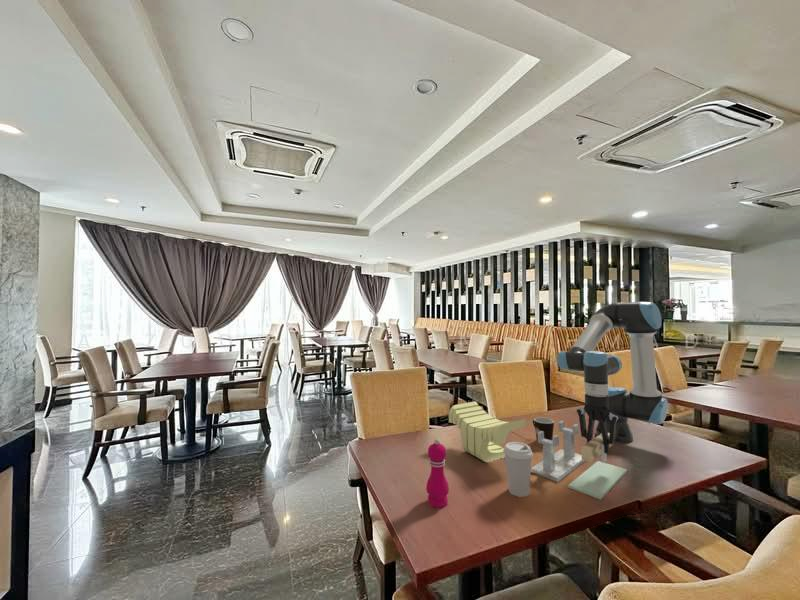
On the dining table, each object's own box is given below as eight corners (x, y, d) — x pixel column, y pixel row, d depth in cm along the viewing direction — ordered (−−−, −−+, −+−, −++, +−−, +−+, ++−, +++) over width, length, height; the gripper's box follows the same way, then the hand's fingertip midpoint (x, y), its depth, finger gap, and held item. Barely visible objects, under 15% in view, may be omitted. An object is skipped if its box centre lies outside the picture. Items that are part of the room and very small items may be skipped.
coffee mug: (556, 446, 149) (556, 424, 149) (536, 445, 151) (535, 423, 151) (550, 437, 160) (549, 416, 161) (531, 435, 162) (531, 415, 162)
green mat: (597, 462, 133) (597, 460, 133) (627, 471, 125) (627, 469, 125) (568, 487, 114) (568, 485, 114) (600, 499, 107) (600, 497, 107)
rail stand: (561, 452, 143) (560, 418, 143) (586, 460, 135) (585, 424, 136) (531, 472, 126) (530, 433, 126) (557, 482, 118) (556, 440, 119)
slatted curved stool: (449, 445, 152) (448, 406, 152) (476, 438, 159) (475, 401, 160) (497, 473, 125) (496, 425, 126) (526, 463, 133) (525, 418, 133)
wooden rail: (604, 442, 128) (603, 431, 129) (612, 444, 126) (612, 433, 126) (581, 459, 114) (581, 447, 114) (591, 461, 112) (590, 449, 112)
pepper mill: (424, 496, 110) (424, 435, 110) (446, 495, 110) (445, 434, 111) (428, 509, 102) (427, 444, 103) (451, 508, 103) (450, 442, 104)
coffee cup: (518, 502, 106) (517, 454, 106) (498, 488, 115) (497, 443, 115) (540, 495, 110) (539, 449, 110) (519, 482, 118) (518, 439, 119)
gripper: (569, 392, 125) (570, 455, 124) (618, 400, 112) (620, 471, 111) (577, 389, 129) (578, 450, 129) (625, 396, 117) (627, 464, 116)
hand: (598, 459), depth 120 cm, fingers closed on wooden rail, 3 cm apart
